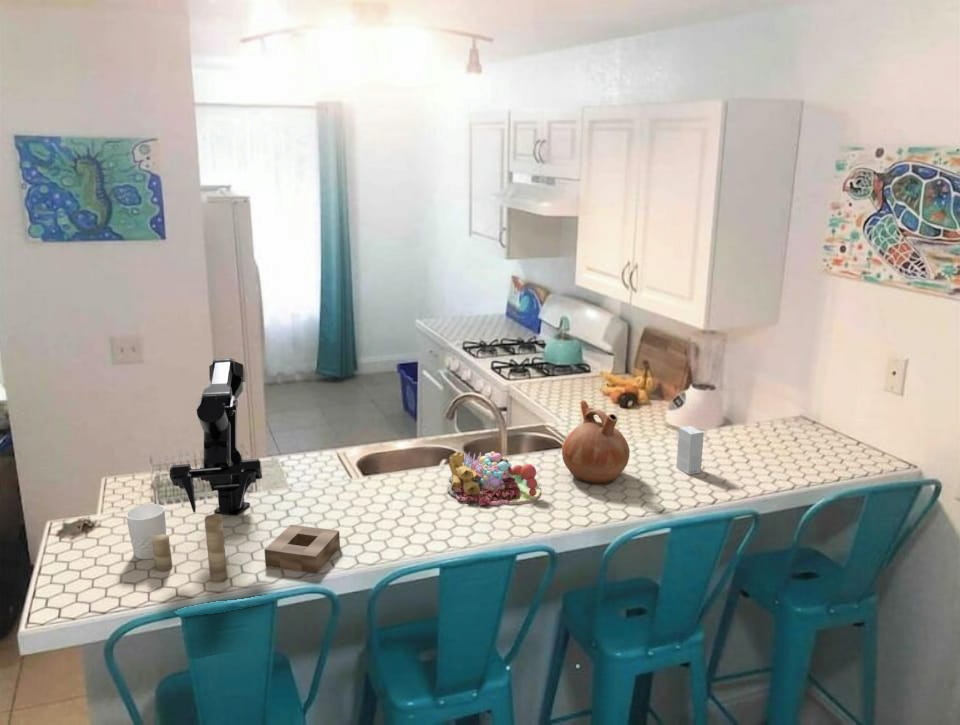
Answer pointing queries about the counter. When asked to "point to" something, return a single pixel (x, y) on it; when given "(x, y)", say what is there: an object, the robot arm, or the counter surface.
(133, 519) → the white cup
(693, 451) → the skincare box
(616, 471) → the jug
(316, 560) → the walnut socket block
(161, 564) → the short oak dowel
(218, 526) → the tall oak dowel
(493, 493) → the candy landscape model
